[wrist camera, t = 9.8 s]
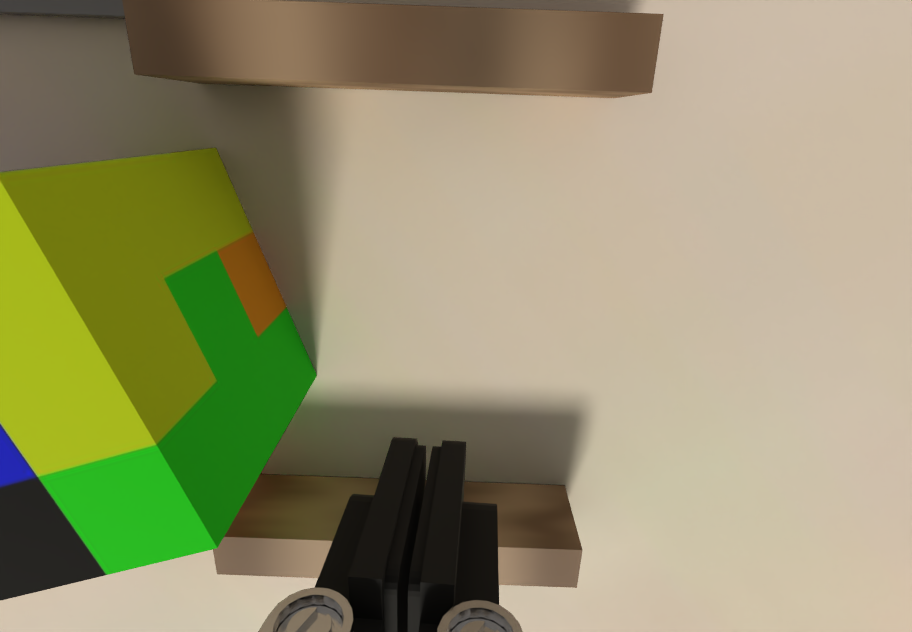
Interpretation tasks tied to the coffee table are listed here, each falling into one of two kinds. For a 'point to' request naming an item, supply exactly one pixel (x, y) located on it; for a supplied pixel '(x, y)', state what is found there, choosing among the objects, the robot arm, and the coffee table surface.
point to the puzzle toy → (133, 365)
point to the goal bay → (64, 8)
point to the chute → (408, 69)
